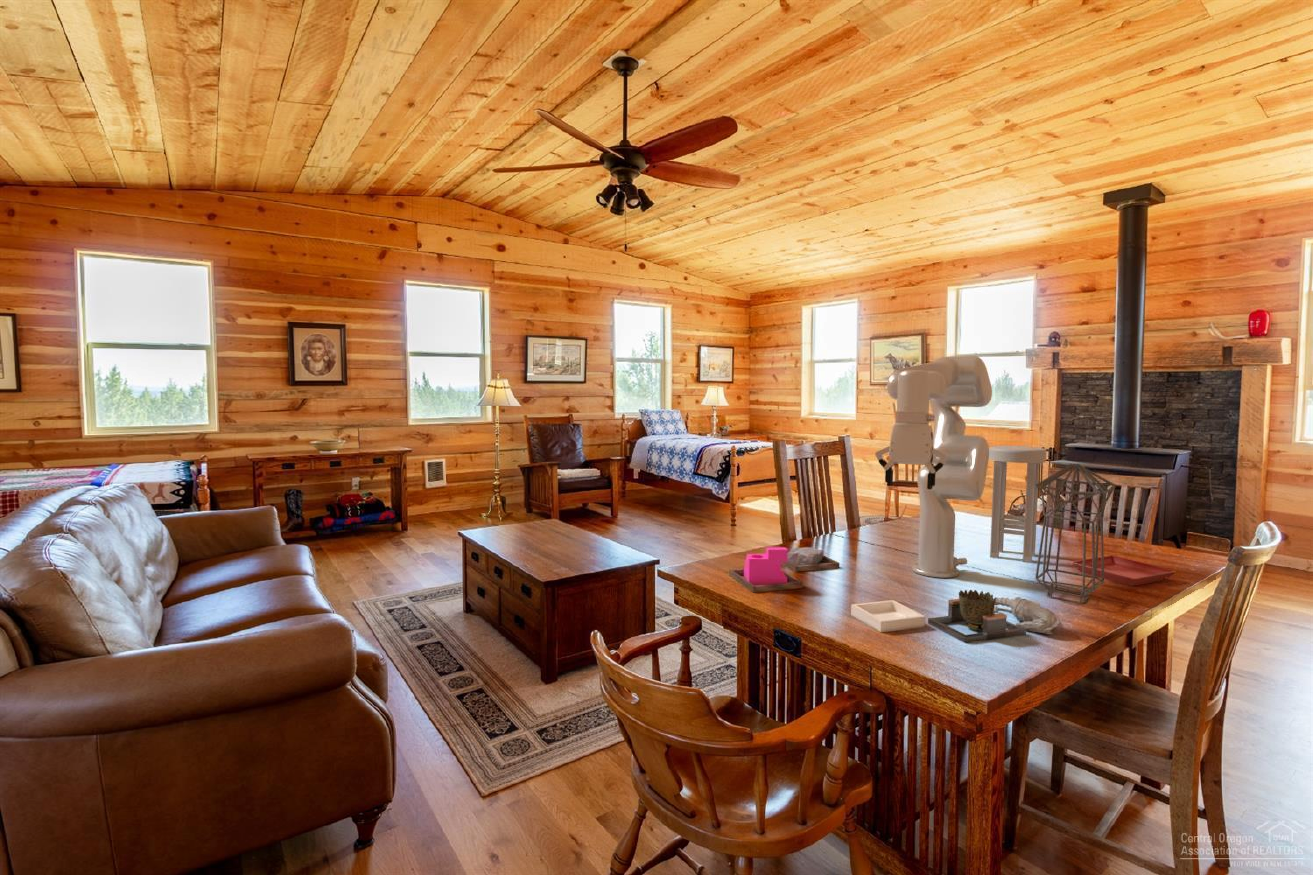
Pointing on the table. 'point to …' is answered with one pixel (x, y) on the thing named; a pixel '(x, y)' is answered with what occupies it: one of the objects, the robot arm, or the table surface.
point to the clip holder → (991, 625)
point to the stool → (999, 491)
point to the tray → (887, 616)
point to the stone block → (805, 556)
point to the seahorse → (1030, 614)
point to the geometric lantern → (1098, 515)
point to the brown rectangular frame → (828, 565)
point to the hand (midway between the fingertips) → (909, 487)
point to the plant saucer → (1125, 570)
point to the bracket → (766, 567)
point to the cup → (975, 607)
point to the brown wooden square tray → (770, 587)
